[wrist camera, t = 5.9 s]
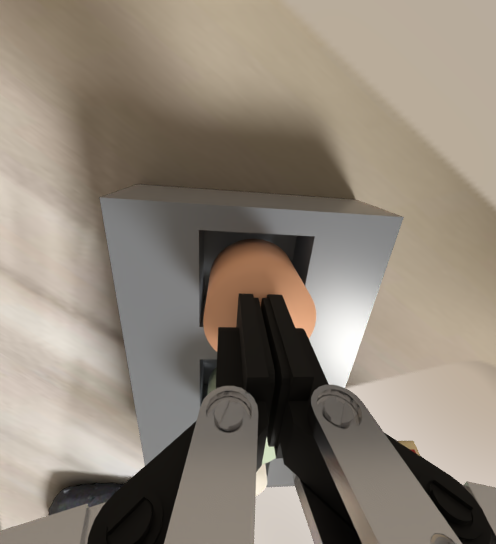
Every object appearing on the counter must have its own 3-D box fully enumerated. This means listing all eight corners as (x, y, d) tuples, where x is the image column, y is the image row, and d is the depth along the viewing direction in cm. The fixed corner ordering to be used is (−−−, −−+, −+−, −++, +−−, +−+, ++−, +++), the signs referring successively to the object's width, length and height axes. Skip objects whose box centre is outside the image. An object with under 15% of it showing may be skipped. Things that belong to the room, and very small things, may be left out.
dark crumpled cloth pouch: (67, 457, 27) (36, 515, 23) (251, 487, 32) (255, 538, 28) (48, 524, 32) (21, 580, 28) (208, 540, 38) (205, 589, 33)
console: (356, 199, 17) (403, 217, 12) (297, 429, 27) (311, 485, 22) (137, 184, 15) (99, 197, 11) (163, 432, 25) (149, 492, 21)
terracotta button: (299, 241, 13) (326, 274, 9) (286, 314, 15) (305, 365, 11) (210, 236, 13) (203, 270, 9) (209, 312, 15) (203, 365, 11)
